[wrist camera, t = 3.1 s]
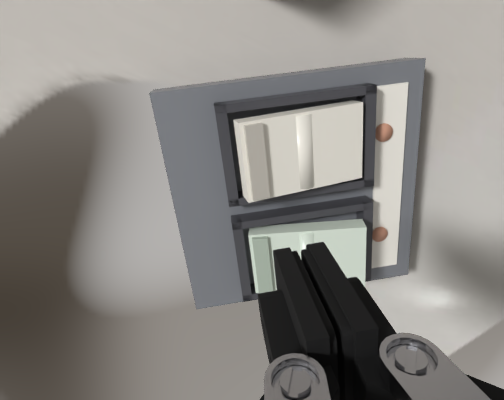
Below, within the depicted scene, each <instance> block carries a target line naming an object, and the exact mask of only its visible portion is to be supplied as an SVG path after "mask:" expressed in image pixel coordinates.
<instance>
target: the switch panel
mask: <svg viewBox="0 0 504 400" xmlns="http://www.w3.org/2000/svg"><path fill="white" fill-rule="evenodd" d="M425 59H426V58H403V59H395V60H387V61H379V62H371V63H363V64H355V65H347V66H339V67H331V68H323V69H315V70H307V71H299V72H291V73H283V74H275V75H267V76H259V77H251V78H243V79H235V80H227V81H219V82H211V83H203V84H195V85H187V86H179V87H171V88H163V89H155V90H153V91H152V92H150V93H149V94H150V98H151V103H152V108H153V112H154V117H155V121H156V126H157V130H158V135H159V139H160V144H161V149H162V153H163V158H164V163H165V167H166V172H167V176H168V180H169V185H170V190H171V195H172V199H173V204H174V208H175V213H176V217H177V222H178V227H179V231H180V235H181V240H182V245H183V250H184V254H185V259H186V263H187V268H188V273H189V277H190V282H191V286H192V290H193V296H194V300H195V305H196V309H201V308H207V307H213V306H219V305H225V304H231V303H237V302H245V301H250V300H257V299H258V294H259V293H256V291H255V283H254V276H253V268H252V260H251V252H250V245H249V237H248V233H249V228H252V227H259V226H267V225H281V224H296V223H310V222H324V221H339V220H353V219H363V221H364V223H365V225H366V227H367V231H366V274H365V282H366V281H371V280H377V279H383V278H389V277H395V276H401V275H407V274H408V269H409V257H410V244H411V232H412V220H413V207H414V195H415V183H416V170H417V158H418V146H419V133H420V121H421V109H422V96H423V84H424V71H425ZM350 100H354V101H360V102H363V150H362V178H359V179H354V180H350V181H345V182H341V183H336V184H332V185H327V186H323V187H318V188H314V189H309V190H305V191H300V192H296V193H291V194H287V195H282V196H278V197H273V198H269V199H264V200H260V201H255V202H251V203H248V202H247V200H246V199H245V198H244V196H243V190H242V182H241V175H240V167H239V159H238V152H237V144H236V136H235V129H234V121H233V120H236V119H242V118H248V117H254V116H260V115H266V114H272V113H278V112H284V111H290V110H296V109H302V108H308V107H314V106H320V105H326V104H332V103H338V102H344V101H350Z"/></svg>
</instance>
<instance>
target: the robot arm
mask: <svg viewBox="0 0 504 400" xmlns="http://www.w3.org/2000/svg"><path fill="white" fill-rule="evenodd" d="M273 258H274V268H275V277H276V287H277V290H276V291H270V292H265V293H259V294H258V302H259V310H260V317H261V323H262V329H263V334H264V340H265V344H266V349H267V354H268V359H269V363H270V365H269V366H268V368H267V370H266V372H265V378H264V395H263V396H262V397H261V399H260V400H504V389H501V388H499V387H496V386H494V385H491V384H489V383H486V382H484V381H481V380H479V379H476V378H474V377H471V376H469V375H466V374H464V373H463V372H462V371H461V370H460V369H459V368H458V367H457V366H456V365H455V364H454V363H453V362H452V361H451V360H450V359H449V358H448V357H447V356H446V355H445V354H444V353H443V352H442V351H441V350H440V349H439V348H438V347H437V346H436V345H434V344H433V343H432V342H430V341H429V340H427V339H425V338H423V337H421V336H418V335H414V334H410V333H398V334H397V333H396V332H395V330H394V329H393V327H392V326H391V325H390V323H389V322H388V320H387V319H386V317H385V316H384V314H383V313H382V311H381V310H380V309H379V307H378V306H377V304H376V303H375V301H374V300H373V298H372V297H371V296H370V294H369V293H368V291H367V290H366V288H365V287H364V285H363V284H362V282H361V281H360V280H359V279H358V278H357V277H351V278H347V277H346V276H345V274H344V273H343V271H342V270H341V268H340V266H339V265H338V263H337V262H336V260H335V259H334V257H333V255H332V254H331V252H330V251H329V249H328V248H327V246H326V244H325V243H324V242H318V243H312V244H307V245H306V249H303V250H301V258H300V256H299V254H298V252H297V251H291V249H290V247H288V248H282V249H276V250H273Z"/></svg>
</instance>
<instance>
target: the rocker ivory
mask: <svg viewBox="0 0 504 400" xmlns="http://www.w3.org/2000/svg"><path fill="white" fill-rule="evenodd" d="M233 121H234V129H235V136H236V144H237V152H238V159H239V167H240V175H241V182H242V190H243V196H244V198H245V199H246V200H247V202H248V203H251V202H255V201H260V200H264V199H269V198H273V197H278V196H282V195H287V194H291V193H296V192H300V191H305V190H309V189H314V188H318V187H323V186H327V185H332V184H336V183H341V182H345V181H350V180H354V179H359V178H362V150H363V102H360V101H354V100H350V101H344V102H338V103H332V104H326V105H320V106H314V107H308V108H302V109H296V110H290V111H284V112H278V113H272V114H266V115H260V116H254V117H248V118H242V119H236V120H233Z"/></svg>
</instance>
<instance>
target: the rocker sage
mask: <svg viewBox="0 0 504 400" xmlns="http://www.w3.org/2000/svg"><path fill="white" fill-rule="evenodd" d="M366 231H367V227H366V225H365V223H364V221H363V219H353V220H339V221H324V222H310V223H296V224H281V225H267V226H259V227H252V228H249V233H248V237H249V245H250V252H251V260H252V268H253V276H254V283H255V291H256V293H265V292H270V291H276V290H277V287H276V277H275V268H274V258H273V250H276V249H282V248H288V247H290V249H291V251H297V252H298V254H299V256H300V258H301V250H303V249H306V245H307V244H312V243H318V242H324V243H325V244H326V246H327V248H328V249H329V251H330V252H331V254H332V255H333V257H334V259H335V260H336V262H337V263H338V265H339V266H340V268H341V270H342V271H343V273H344V274H345V276H346V277H347V278H351V277H357V278H358V279H359V280H360V281H361V282H362V284H363V285H364V287H365V274H366Z"/></svg>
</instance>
